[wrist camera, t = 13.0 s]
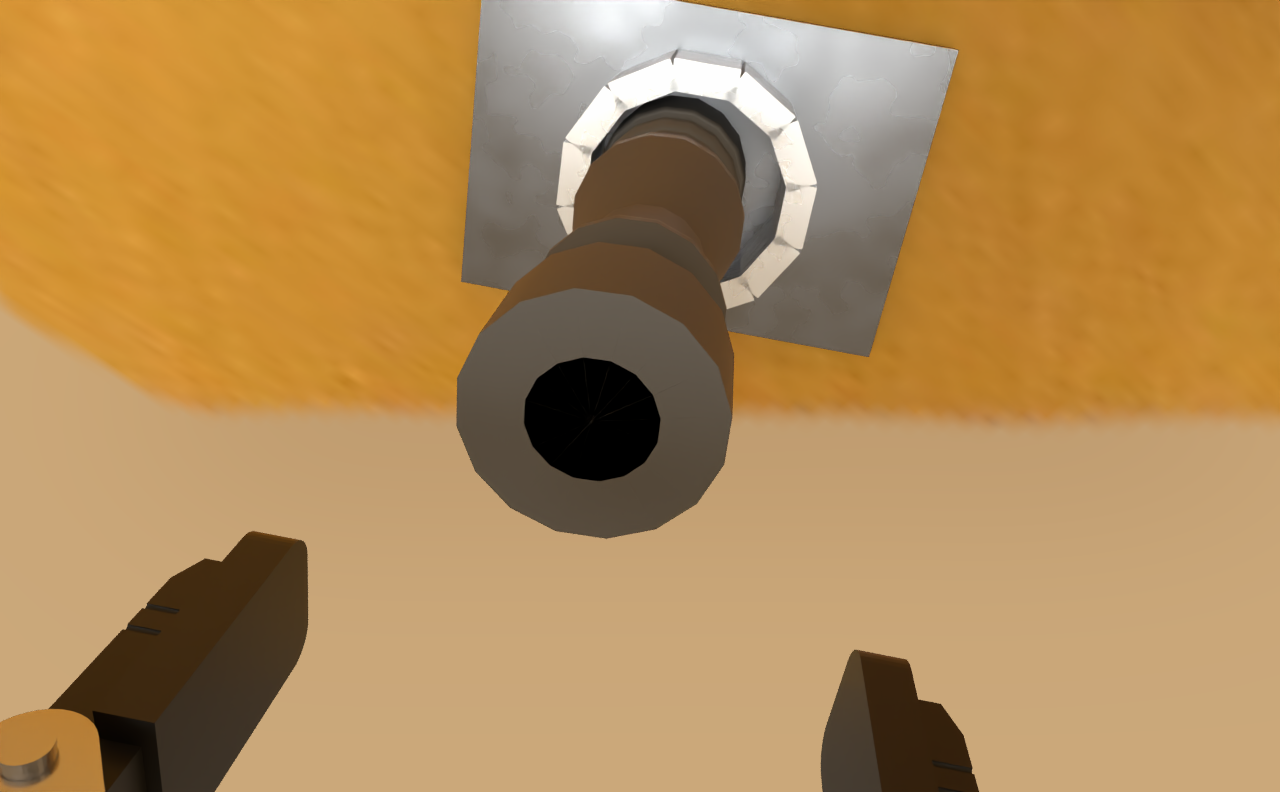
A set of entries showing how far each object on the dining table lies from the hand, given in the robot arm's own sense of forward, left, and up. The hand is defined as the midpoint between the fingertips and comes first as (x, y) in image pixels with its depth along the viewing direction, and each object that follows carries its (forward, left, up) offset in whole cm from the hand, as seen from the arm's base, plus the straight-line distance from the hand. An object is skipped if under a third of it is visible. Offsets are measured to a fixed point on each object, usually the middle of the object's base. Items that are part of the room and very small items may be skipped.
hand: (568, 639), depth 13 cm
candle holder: (+1, 0, -31) cm, 31 cm away
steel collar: (0, 0, -32) cm, 32 cm away
